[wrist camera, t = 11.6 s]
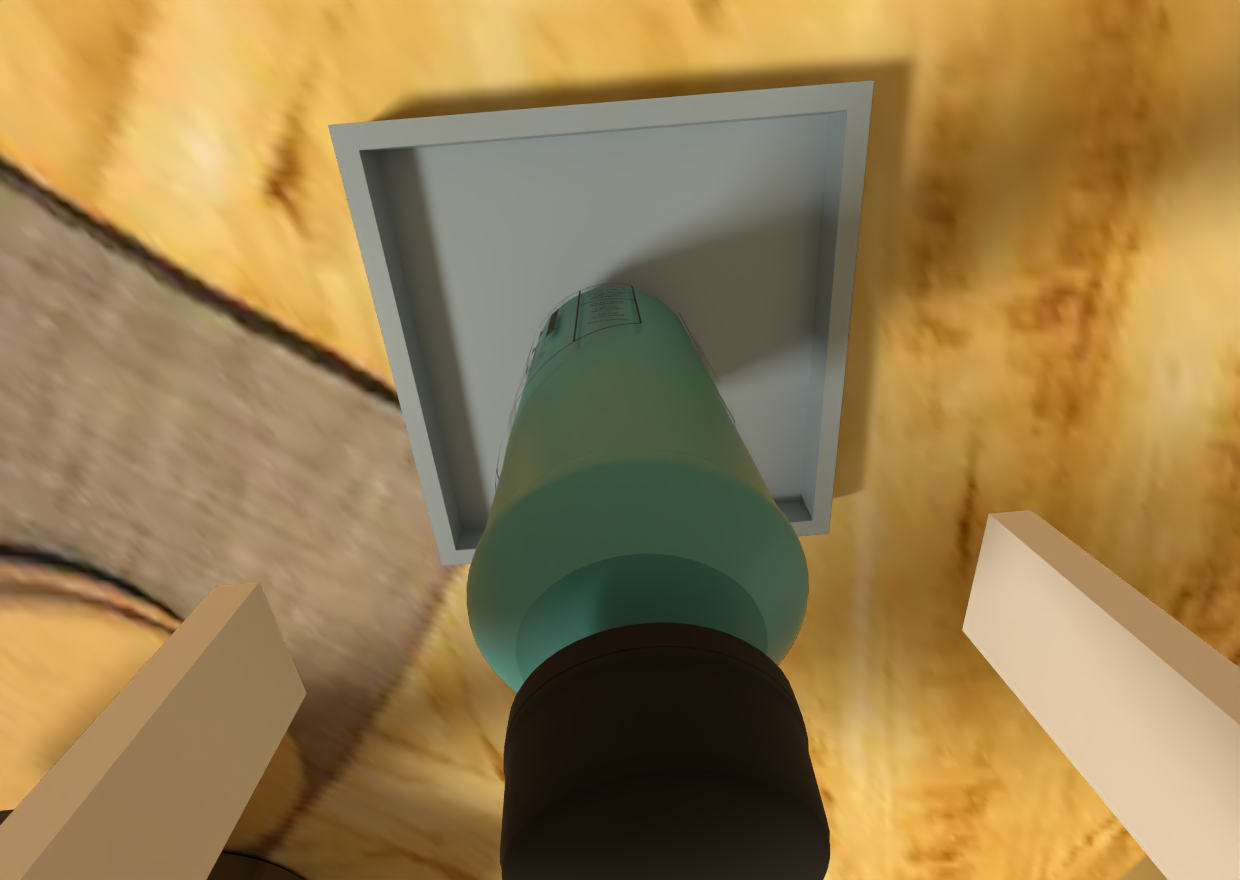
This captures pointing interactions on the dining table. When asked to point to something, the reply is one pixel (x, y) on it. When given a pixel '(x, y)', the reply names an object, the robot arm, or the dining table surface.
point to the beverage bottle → (642, 618)
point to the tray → (615, 266)
